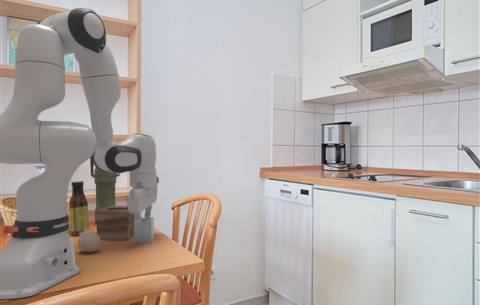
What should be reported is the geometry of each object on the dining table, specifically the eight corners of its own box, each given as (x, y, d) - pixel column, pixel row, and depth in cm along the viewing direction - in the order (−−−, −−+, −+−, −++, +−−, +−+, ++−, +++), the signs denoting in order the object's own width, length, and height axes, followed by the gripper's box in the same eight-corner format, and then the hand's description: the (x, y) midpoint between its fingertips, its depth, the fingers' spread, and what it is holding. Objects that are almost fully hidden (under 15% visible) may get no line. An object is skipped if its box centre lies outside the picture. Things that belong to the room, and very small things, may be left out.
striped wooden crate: (127, 239, 114) (127, 211, 114) (96, 239, 114) (96, 211, 114) (139, 232, 125) (138, 205, 125) (111, 231, 125) (110, 205, 125)
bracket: (151, 242, 110) (151, 219, 110) (134, 242, 111) (133, 218, 111) (153, 240, 113) (153, 217, 113) (137, 240, 113) (136, 217, 113)
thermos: (91, 221, 143) (90, 142, 143) (120, 219, 148) (119, 142, 147) (90, 226, 135) (89, 141, 135) (120, 223, 139) (119, 141, 139)
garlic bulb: (101, 247, 105) (100, 223, 105) (100, 253, 99) (100, 227, 99) (78, 250, 102) (78, 225, 102) (76, 256, 96) (75, 229, 96)
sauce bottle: (92, 232, 125) (91, 180, 125) (83, 236, 119) (82, 182, 119) (76, 231, 126) (75, 180, 126) (66, 236, 120) (65, 182, 120)
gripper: (142, 185, 102) (142, 229, 102) (160, 177, 122) (160, 214, 123) (122, 185, 102) (122, 228, 103) (143, 177, 122) (143, 213, 123)
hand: (143, 220), depth 113 cm, fingers open, 8 cm apart
